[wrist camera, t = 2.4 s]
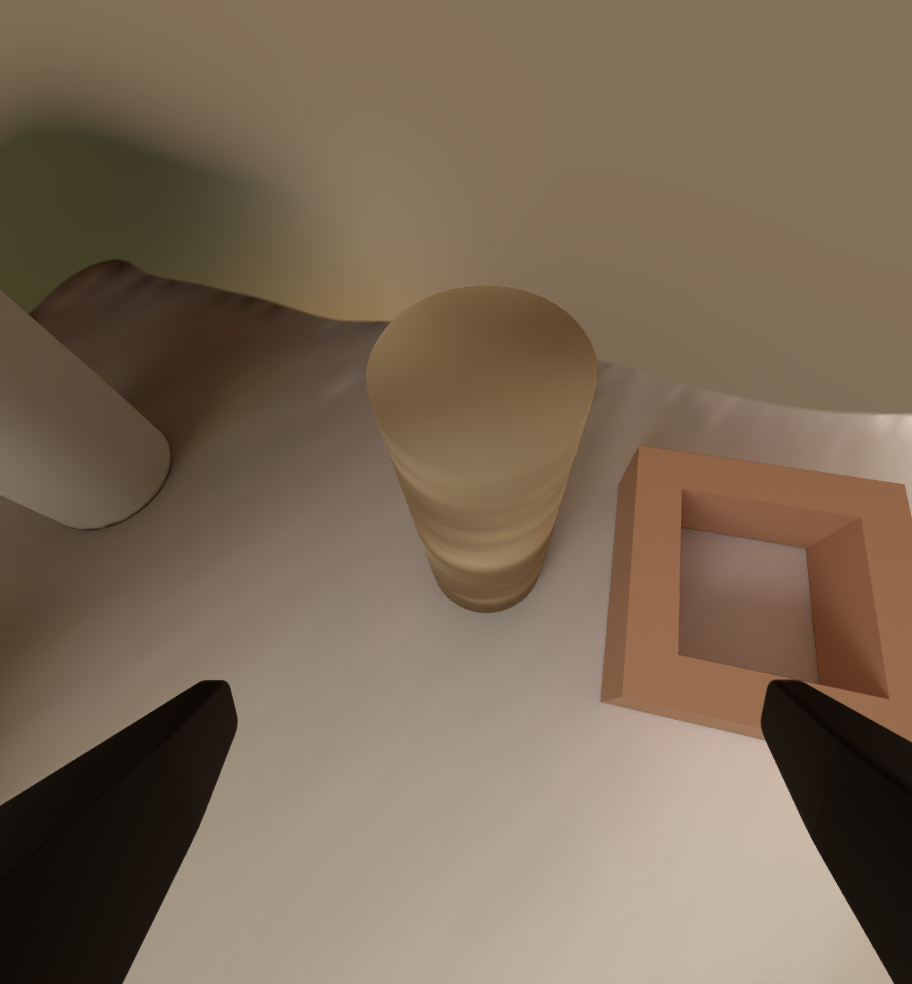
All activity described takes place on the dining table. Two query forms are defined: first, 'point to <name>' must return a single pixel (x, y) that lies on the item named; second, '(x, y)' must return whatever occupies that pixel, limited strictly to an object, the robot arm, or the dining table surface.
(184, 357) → the dining table surface
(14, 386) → the bottle
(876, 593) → the socket
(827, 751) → the robot arm
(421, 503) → the peg
